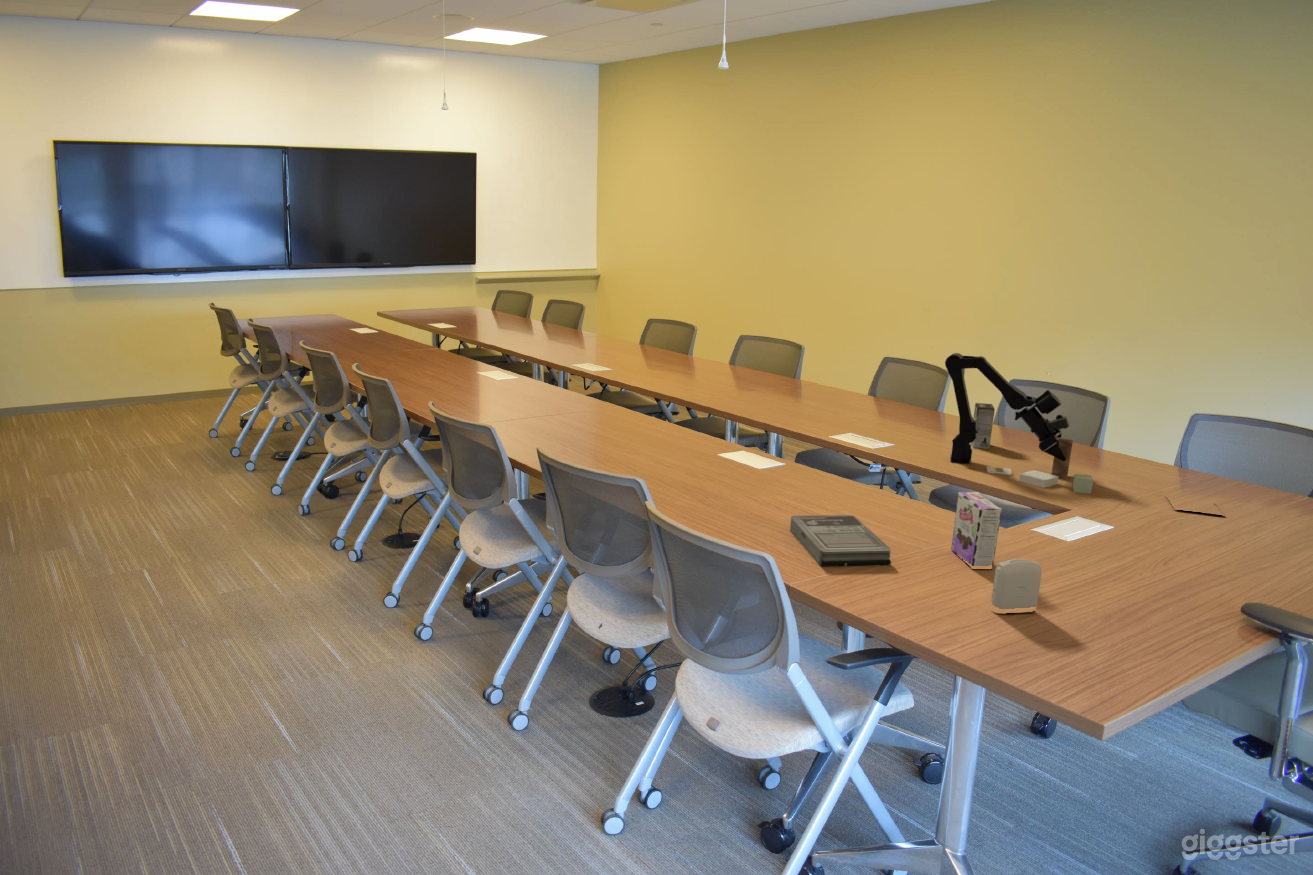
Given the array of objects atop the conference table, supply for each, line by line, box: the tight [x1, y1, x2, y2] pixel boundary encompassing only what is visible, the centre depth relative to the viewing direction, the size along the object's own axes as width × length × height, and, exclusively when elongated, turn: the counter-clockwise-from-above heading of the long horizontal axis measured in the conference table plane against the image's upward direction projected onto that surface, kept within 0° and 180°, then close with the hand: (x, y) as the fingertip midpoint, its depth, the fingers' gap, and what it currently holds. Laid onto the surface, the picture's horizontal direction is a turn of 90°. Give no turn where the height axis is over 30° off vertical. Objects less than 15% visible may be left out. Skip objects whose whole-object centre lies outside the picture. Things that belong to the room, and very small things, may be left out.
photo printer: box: [990, 558, 1042, 609], centre depth 206 cm, size 10×4×12 cm, turn 100°
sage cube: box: [1071, 473, 1094, 495], centre depth 302 cm, size 5×5×5 cm
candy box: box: [950, 491, 1003, 566], centre depth 236 cm, size 14×6×16 cm, turn 5°
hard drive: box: [789, 514, 892, 568], centre depth 243 cm, size 18×27×4 cm
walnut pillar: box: [1050, 437, 1074, 480], centre depth 318 cm, size 5×5×13 cm
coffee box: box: [970, 402, 996, 450], centre depth 356 cm, size 9×6×16 cm
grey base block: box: [1018, 469, 1060, 489], centre depth 310 cm, size 9×9×3 cm
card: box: [986, 466, 1013, 476], centre depth 322 cm, size 8×6×1 cm
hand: (1066, 457), depth 317 cm, fingers open, 9 cm apart
